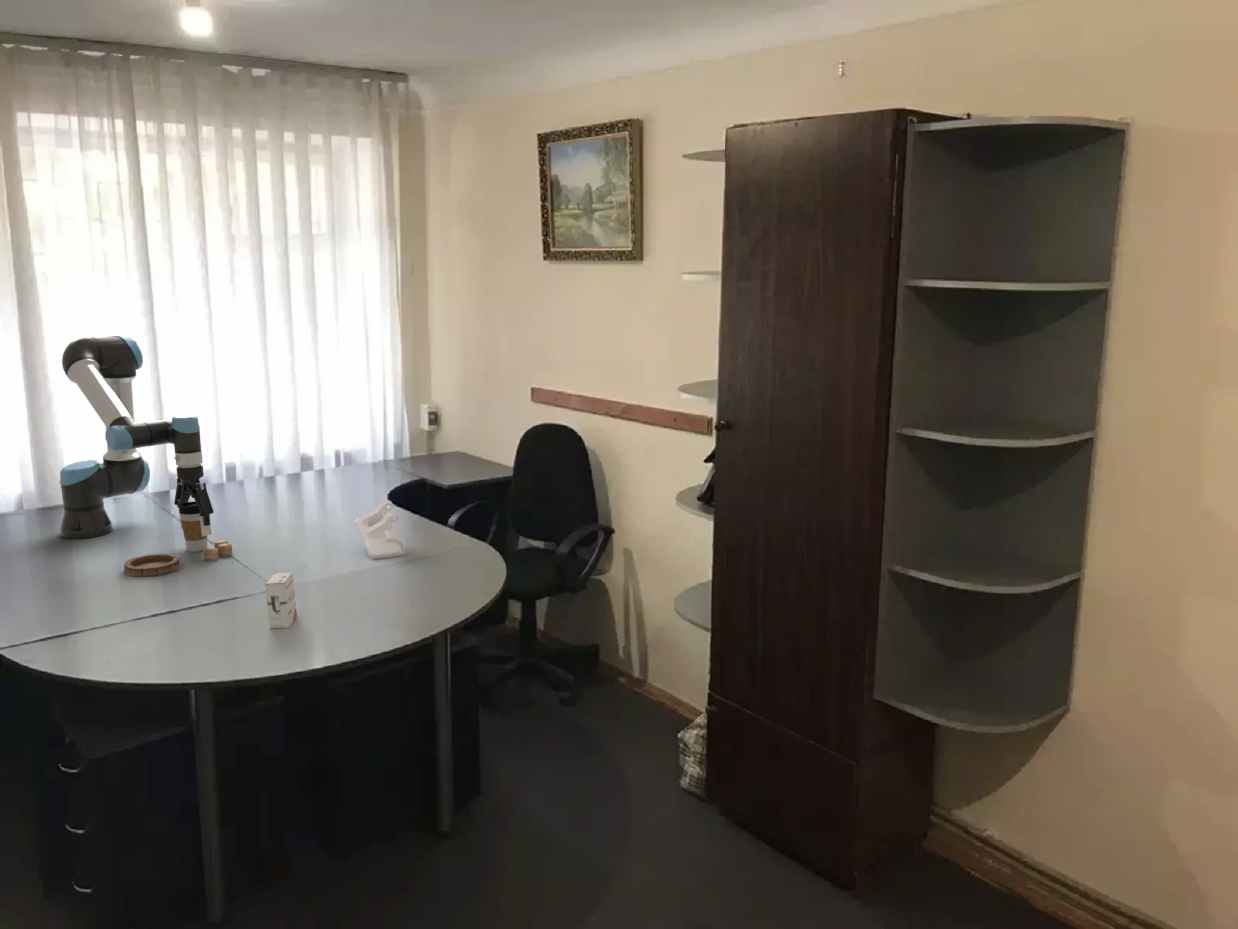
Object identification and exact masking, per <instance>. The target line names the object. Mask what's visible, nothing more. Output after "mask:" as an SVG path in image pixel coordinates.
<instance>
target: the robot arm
mask: <svg viewBox="0 0 1238 929" xmlns="http://www.w3.org/2000/svg"><path fill="white" fill-rule="evenodd" d="M61 358H62V359H61V365H62V369H63V372H64V374H65V375H66V377H67V378H68V380H69V381H70V382H72V383H74V384H76V385H77V387H78V388H79V389H80V391H81V392H82V394H83V395H84V396H85V399H87V402H89V405H91V407H92V408H93V410H94V411H95V412H96V414H97V415H98V417H99V418H100V421H101V422H102V423H103V424H104V426H105V433H104V434H105V441H106V447H107V448H106V449H107V451H106V452H105V454H104V455H103V456H102V460H103V461H102V462H101V463H100V462H99V461H98V460H94V459H93V460H92V459H91V460H90V459H89V460H81V461H76V462H73V463H70V464H67V465H65V466H64V467H62V468H61V470H60V472H59V478H60V480H59V484H60V489H61V495H62V496H61V498H62V503H63V515H62V516H63V517H62V519H61V523H60V530H59V531H60V537H61V538H66V539H73V540H74V539H88V538H94V537H98V536H104V535H106V534H109V533H111V532H112V531H113V522H112V521H111V518H110V517H109V515H108V513H107V510H106V509H105V506H104V505H105V502H104V499H107V498H112V497H118V496H123V495H128V494H129V495H132V494H136V493H139V492H142V491H144V490H145V489H146V487H148V485H149V482H150V480H151V478H150V477H151V469H150V466H149V463H148V460H146V458H144V457H142V453H140V452H139V451H138V450H137V449H139V448H140V449H141V448H146V447H152V446H153V447H154V446H160V445H161V446H162V445H167V444H171V445H173V446H174V460H175V465H176V468H175V469H176V477H177V478H176V489H175V494H174V495H175V496H174V502H173V504H174V505H175V506H176V508H178V509H179V508H180V504H182V503H186V502H190V497H191V498H192V499H194V501H195V502H196V504H197V506H198V508H199V510H200V512H201V514H200V515H199V516H200V522H201V532H202V536H207V537H208V536H211V535H212V525H211V515H212V514H214V509H213V505H212V503H211V502H212V501H211V498H210V497H209V493H208V490H207V484H206V482H201V480H200V479H201V478H203V477H204V474H205V473H204V465H203V452H202V451H203V450H202V444H201V443H202V442H201V431H200V430H201V429H200V428H201V427H200V423H199V417H197V415H195V414H180V415H174V416H173V417H171V418H170V417H160V418H156V419H155V420H150V421H143V422H136V421H135V413H134V399H133V397H134V396H133V386H132V385H133V383H132V381H133V380H134V379H135V378H136V377H137V370H140V369H141V368H142V367H143V364H144V356H143V352H142V350H141V347H140V345H139V344H138V341H137V340H136V339H135V338H134V337H133V336H131V335H129V334H107V335H106V334H105V335H97V336H96V335H94V336H81V337H78V338H76V339H74V340H72V341H70V343H69V344H68V345H67V347H66V348H65V349H64V351H63V353H62V357H61ZM178 514H179V525H180V529H181V530H183V527H182V523H181V514H180V513H179V512H178Z"/></svg>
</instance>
